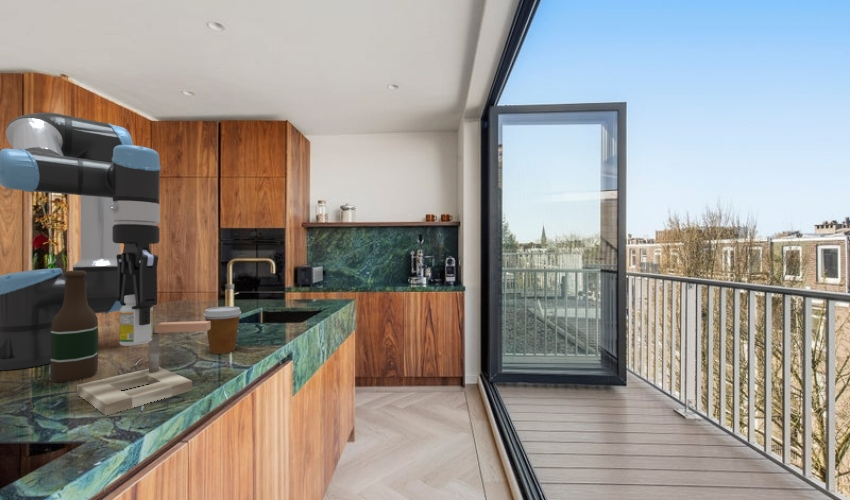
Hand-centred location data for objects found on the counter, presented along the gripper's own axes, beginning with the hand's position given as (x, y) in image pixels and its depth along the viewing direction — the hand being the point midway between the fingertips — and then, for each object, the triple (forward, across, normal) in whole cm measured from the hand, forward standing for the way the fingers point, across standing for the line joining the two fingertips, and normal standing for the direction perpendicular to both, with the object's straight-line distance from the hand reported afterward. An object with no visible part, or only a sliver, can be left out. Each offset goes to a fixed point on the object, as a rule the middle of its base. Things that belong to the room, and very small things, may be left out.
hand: (136, 338), depth 75 cm
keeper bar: (0, -2, +8) cm, 9 cm away
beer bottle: (+11, -22, -4) cm, 25 cm away
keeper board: (+11, 0, 0) cm, 11 cm away
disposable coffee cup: (+11, -16, +26) cm, 33 cm away
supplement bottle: (+1, 0, 0) cm, 1 cm away
